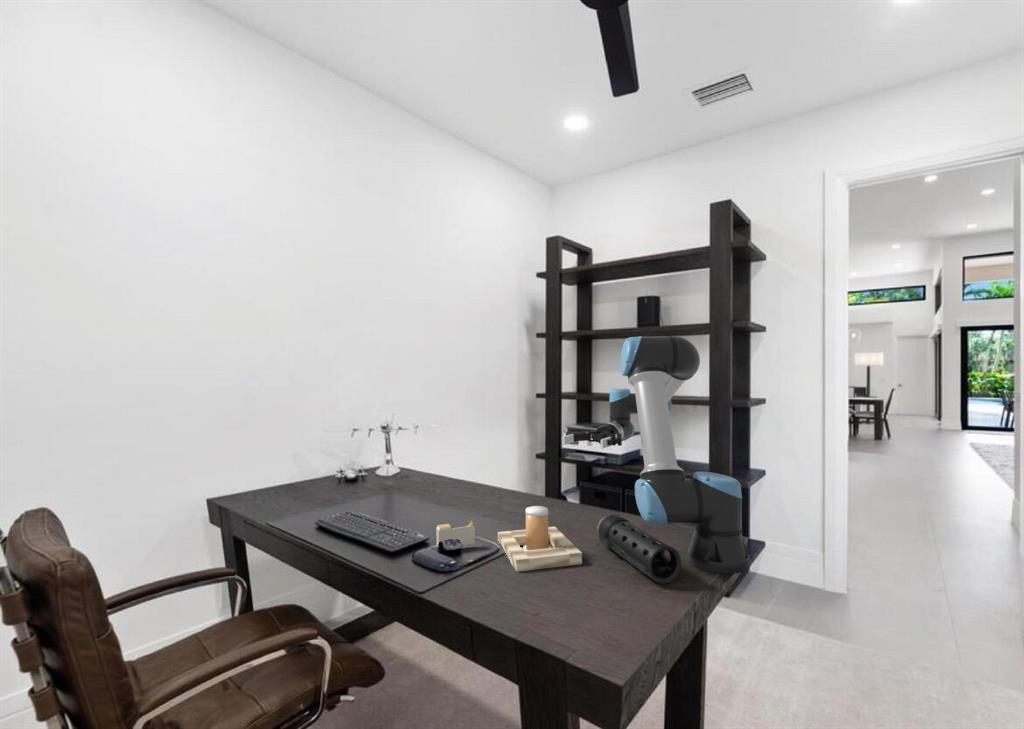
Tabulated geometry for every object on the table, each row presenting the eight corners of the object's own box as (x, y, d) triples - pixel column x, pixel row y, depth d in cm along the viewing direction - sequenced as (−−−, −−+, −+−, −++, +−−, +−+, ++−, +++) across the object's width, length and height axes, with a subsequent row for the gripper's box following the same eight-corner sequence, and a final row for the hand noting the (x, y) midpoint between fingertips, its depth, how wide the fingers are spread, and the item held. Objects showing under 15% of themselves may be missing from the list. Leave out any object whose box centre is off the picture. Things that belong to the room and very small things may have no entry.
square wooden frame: (581, 563, 132) (581, 552, 132) (516, 571, 127) (516, 560, 127) (554, 536, 153) (554, 526, 153) (497, 542, 149) (497, 532, 149)
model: (436, 550, 144) (436, 524, 144) (471, 545, 148) (471, 519, 148) (439, 554, 141) (438, 527, 141) (475, 548, 145) (474, 522, 145)
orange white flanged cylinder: (556, 556, 137) (555, 512, 137) (527, 559, 135) (526, 515, 135) (546, 545, 145) (546, 504, 145) (519, 548, 143) (518, 506, 143)
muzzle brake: (642, 552, 117) (679, 541, 120) (589, 517, 144) (621, 508, 147) (648, 591, 118) (684, 578, 121) (594, 548, 145) (625, 539, 148)
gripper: (643, 447, 169) (619, 458, 151) (577, 441, 183) (548, 450, 166) (643, 425, 169) (618, 433, 151) (577, 421, 183) (548, 428, 166)
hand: (581, 442), depth 158 cm, fingers open, 13 cm apart
